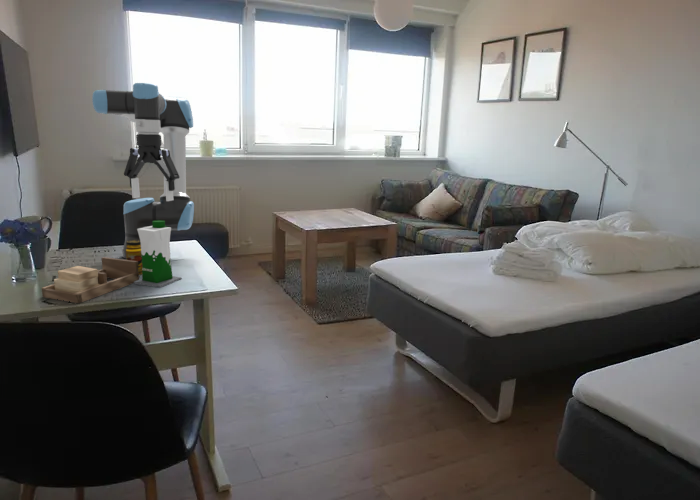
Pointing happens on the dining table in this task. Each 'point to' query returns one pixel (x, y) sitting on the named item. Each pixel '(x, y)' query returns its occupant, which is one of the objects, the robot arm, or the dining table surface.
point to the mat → (157, 283)
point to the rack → (100, 281)
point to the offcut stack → (76, 279)
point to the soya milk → (155, 252)
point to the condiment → (134, 253)
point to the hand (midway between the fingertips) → (152, 199)
